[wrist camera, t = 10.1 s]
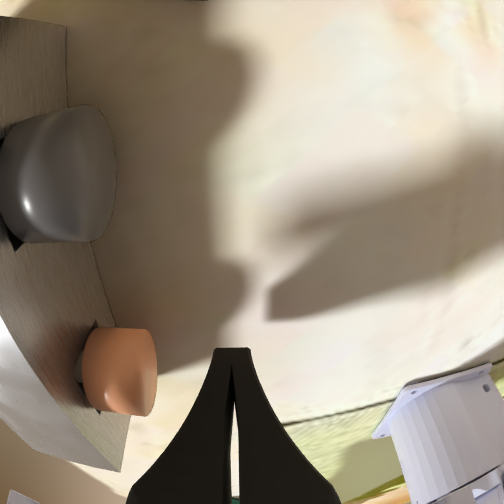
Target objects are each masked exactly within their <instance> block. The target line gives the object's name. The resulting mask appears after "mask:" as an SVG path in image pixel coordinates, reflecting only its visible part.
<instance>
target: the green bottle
mask: <svg viewBox="0 0 504 504" xmlns="http://www.w3.org/2000/svg"><path fill="white" fill-rule="evenodd" d="M232 504H240V500H237V499H232Z"/></svg>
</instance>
